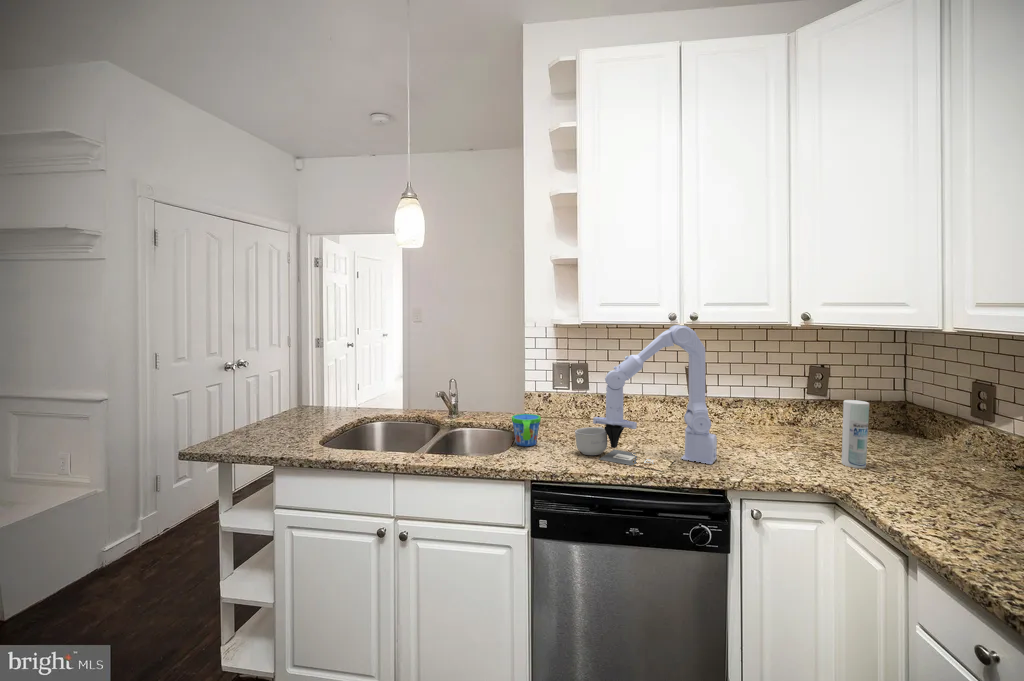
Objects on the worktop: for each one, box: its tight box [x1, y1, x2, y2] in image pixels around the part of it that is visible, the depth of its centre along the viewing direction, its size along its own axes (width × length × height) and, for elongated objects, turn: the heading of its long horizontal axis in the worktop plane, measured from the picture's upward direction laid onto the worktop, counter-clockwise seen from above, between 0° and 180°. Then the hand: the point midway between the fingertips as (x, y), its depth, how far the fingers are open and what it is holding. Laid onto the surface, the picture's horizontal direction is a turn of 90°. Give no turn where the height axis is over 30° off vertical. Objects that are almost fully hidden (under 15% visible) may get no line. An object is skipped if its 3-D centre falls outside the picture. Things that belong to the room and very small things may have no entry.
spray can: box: [841, 399, 870, 469], centre depth 147 cm, size 6×6×20 cm
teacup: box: [574, 426, 608, 456], centre depth 161 cm, size 14×11×8 cm
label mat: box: [598, 448, 654, 466], centre depth 153 cm, size 21×13×1 cm, turn 56°
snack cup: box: [511, 413, 542, 447], centre depth 171 cm, size 16×10×10 cm
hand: (614, 447), depth 157 cm, fingers closed
